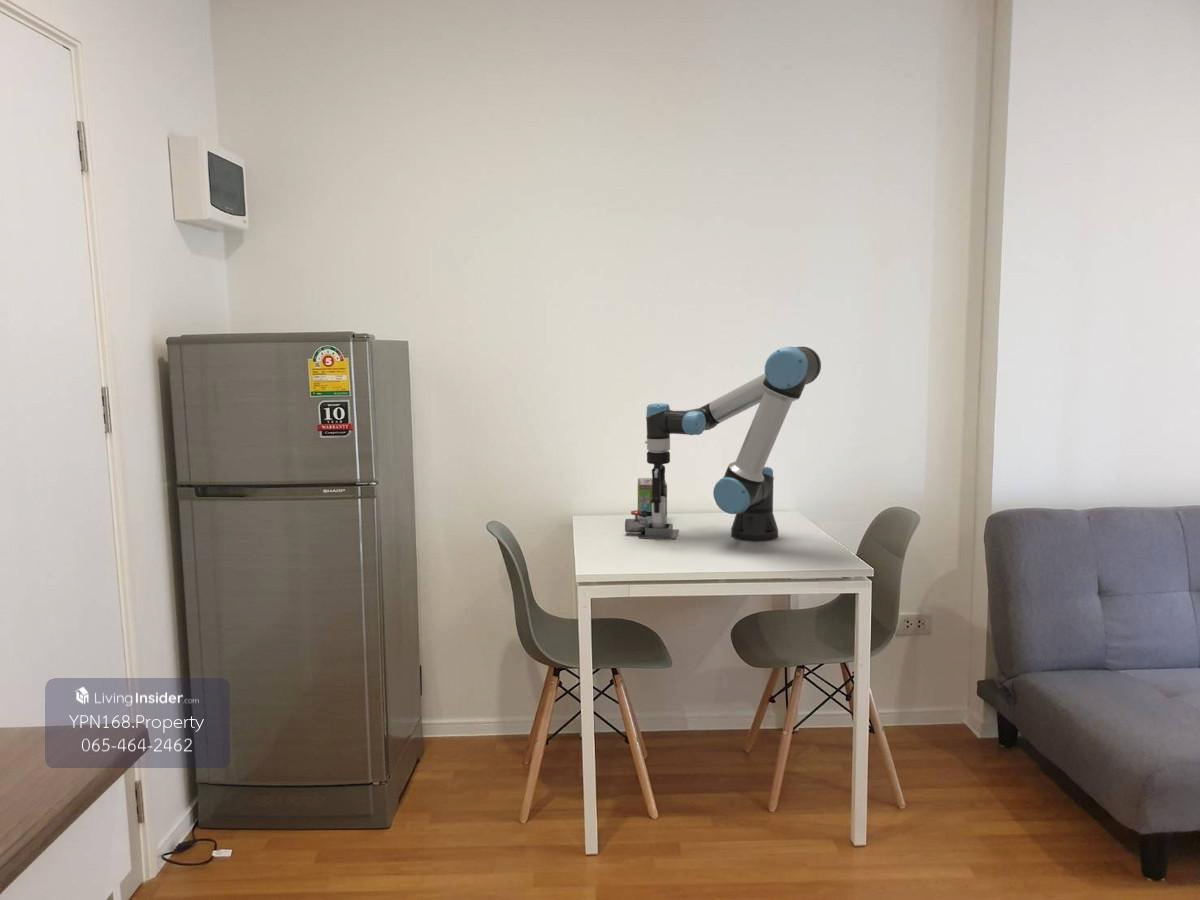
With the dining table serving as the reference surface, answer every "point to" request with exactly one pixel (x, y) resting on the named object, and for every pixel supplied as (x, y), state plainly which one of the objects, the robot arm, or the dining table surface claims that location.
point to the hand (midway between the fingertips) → (659, 519)
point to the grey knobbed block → (649, 528)
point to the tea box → (646, 498)
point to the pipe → (663, 509)
